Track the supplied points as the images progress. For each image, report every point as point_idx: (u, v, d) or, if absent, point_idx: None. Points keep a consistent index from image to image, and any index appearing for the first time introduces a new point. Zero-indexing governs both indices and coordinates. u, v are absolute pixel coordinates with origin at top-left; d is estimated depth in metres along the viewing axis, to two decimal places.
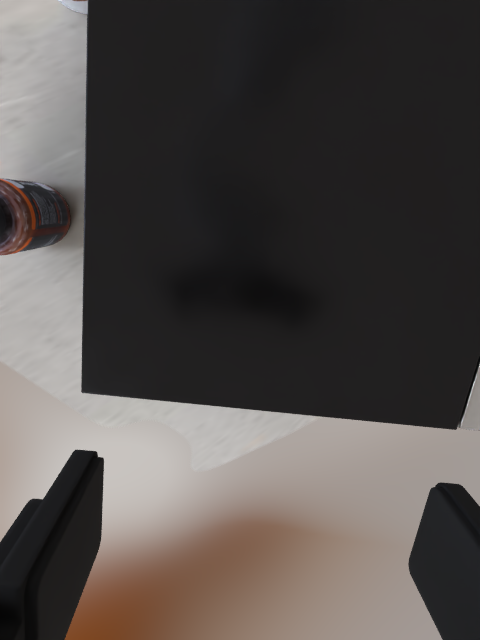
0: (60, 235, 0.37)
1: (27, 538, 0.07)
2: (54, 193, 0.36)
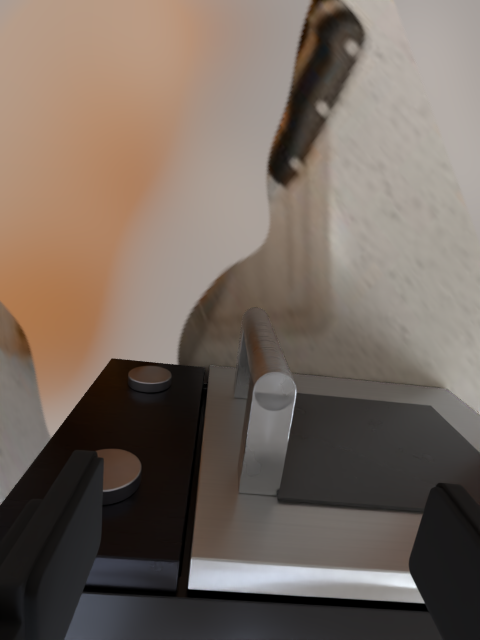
0: None
1: (27, 538, 0.07)
2: None
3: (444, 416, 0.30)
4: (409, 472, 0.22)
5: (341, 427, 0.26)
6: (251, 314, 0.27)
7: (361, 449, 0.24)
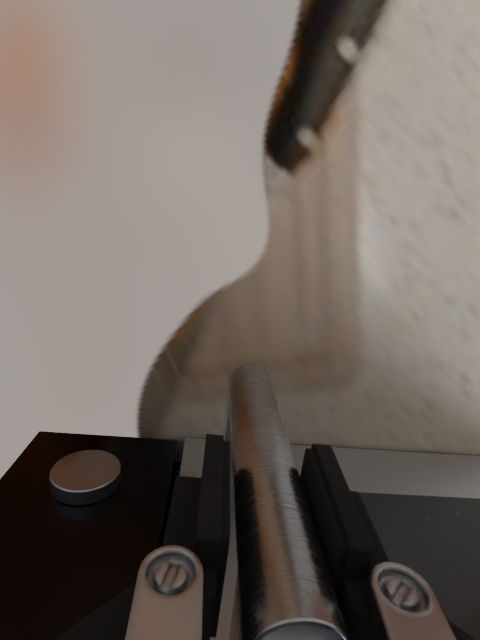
0: None
1: (207, 503, 0.09)
2: None
3: None
4: None
5: None
6: (242, 381, 0.17)
7: None
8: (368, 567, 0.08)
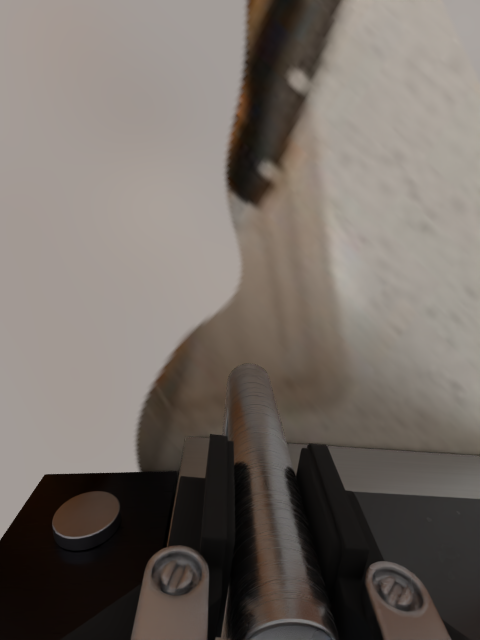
0: None
1: (211, 503, 0.09)
2: None
3: None
4: None
5: None
6: (240, 380, 0.17)
7: None
8: (362, 566, 0.08)
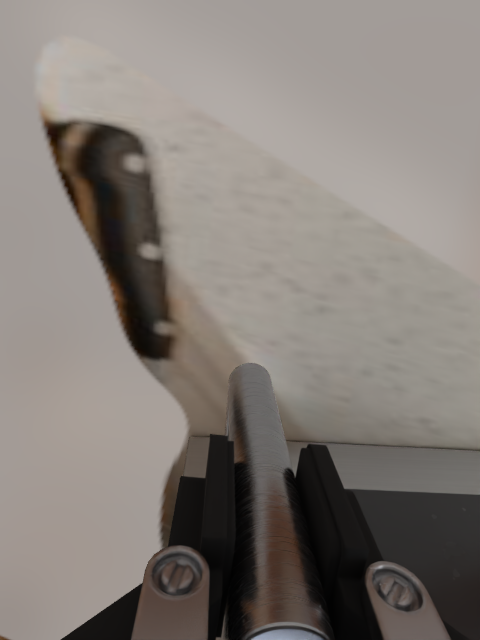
0: None
1: (212, 503, 0.09)
2: None
3: None
4: None
5: None
6: (241, 380, 0.17)
7: None
8: (362, 566, 0.08)
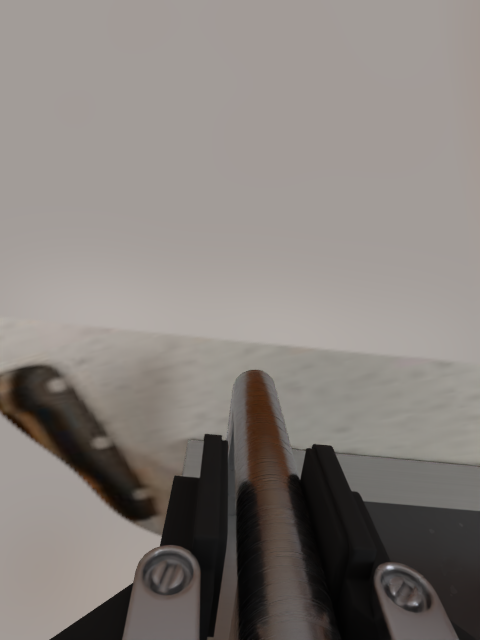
0: None
1: (204, 503, 0.09)
2: None
3: None
4: None
5: None
6: (246, 387, 0.17)
7: None
8: (370, 568, 0.08)
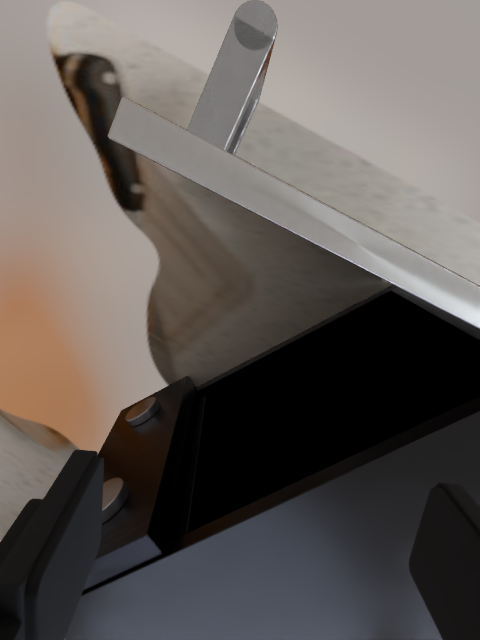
0: None
1: (27, 538, 0.07)
2: None
3: None
4: None
5: None
6: None
7: None
8: None
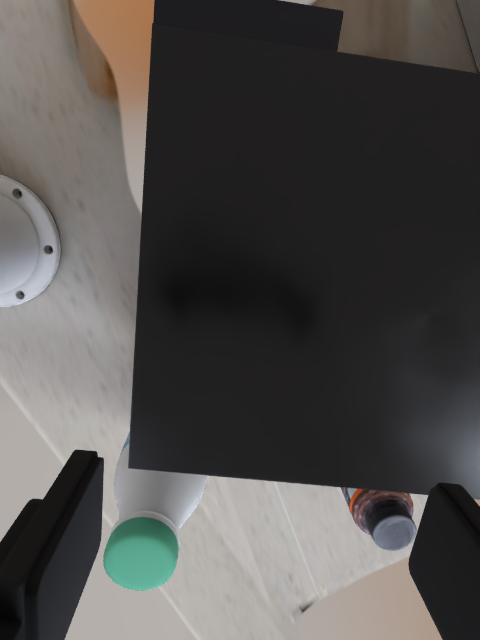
0: None
1: (27, 538, 0.07)
2: None
3: None
4: None
5: None
6: None
7: None
8: None
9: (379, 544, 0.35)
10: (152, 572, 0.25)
